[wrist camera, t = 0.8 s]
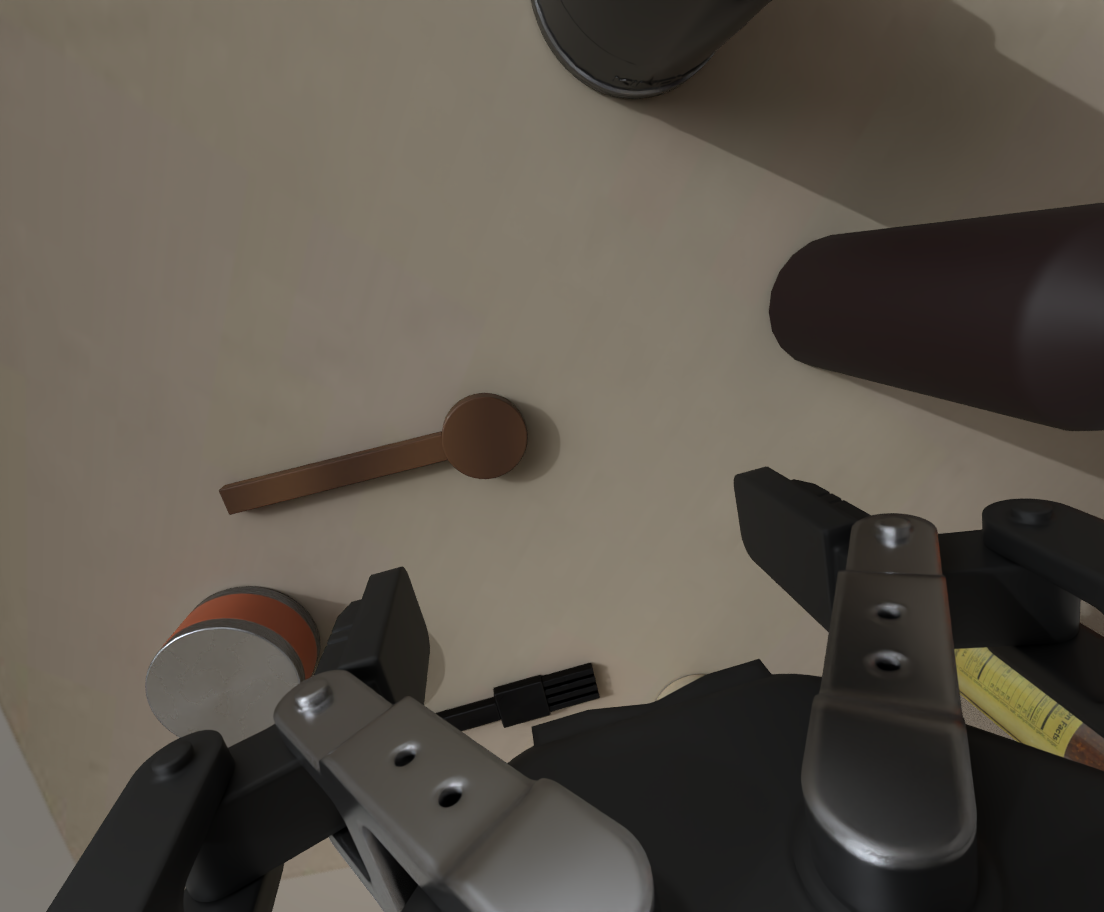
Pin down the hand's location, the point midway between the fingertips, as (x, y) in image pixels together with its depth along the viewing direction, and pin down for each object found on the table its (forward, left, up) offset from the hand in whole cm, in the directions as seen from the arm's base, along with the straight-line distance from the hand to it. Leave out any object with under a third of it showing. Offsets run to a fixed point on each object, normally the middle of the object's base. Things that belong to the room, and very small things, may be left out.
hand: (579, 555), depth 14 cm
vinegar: (-1, +17, -18) cm, 25 cm away
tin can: (+10, -18, -18) cm, 27 cm away
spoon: (+1, -8, -18) cm, 20 cm away
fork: (+18, -7, -18) cm, 26 cm away
